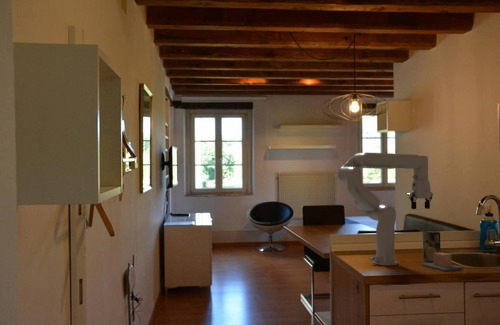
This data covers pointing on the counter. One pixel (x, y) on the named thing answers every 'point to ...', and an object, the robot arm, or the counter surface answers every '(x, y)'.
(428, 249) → the coffee box
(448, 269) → the mat
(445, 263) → the terracotta cube
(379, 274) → the counter surface
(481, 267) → the counter surface
